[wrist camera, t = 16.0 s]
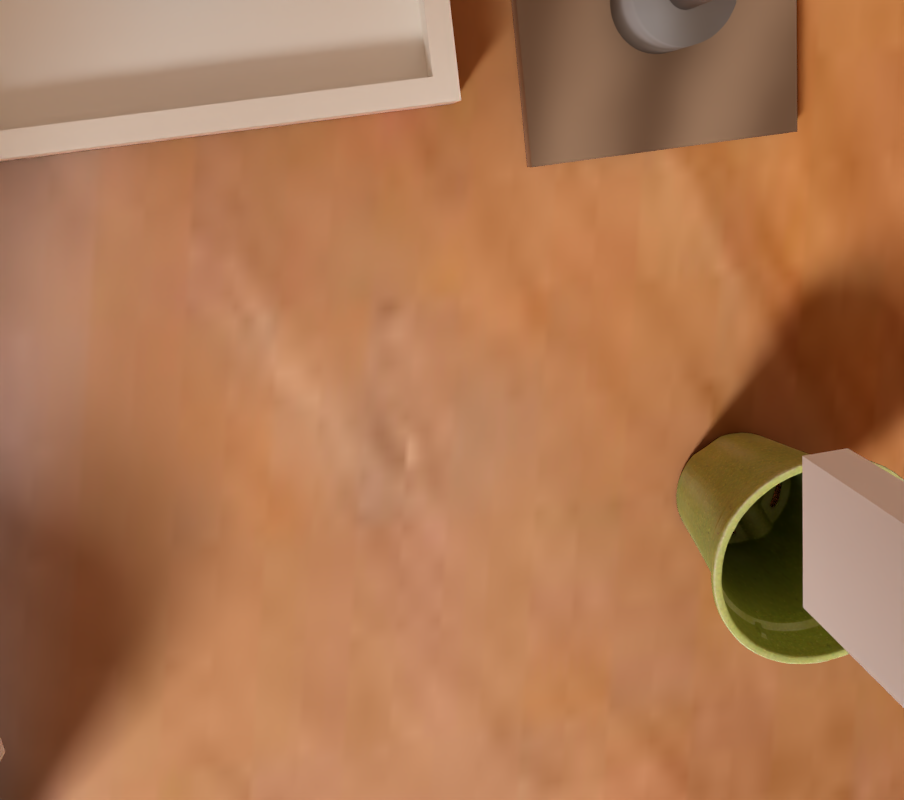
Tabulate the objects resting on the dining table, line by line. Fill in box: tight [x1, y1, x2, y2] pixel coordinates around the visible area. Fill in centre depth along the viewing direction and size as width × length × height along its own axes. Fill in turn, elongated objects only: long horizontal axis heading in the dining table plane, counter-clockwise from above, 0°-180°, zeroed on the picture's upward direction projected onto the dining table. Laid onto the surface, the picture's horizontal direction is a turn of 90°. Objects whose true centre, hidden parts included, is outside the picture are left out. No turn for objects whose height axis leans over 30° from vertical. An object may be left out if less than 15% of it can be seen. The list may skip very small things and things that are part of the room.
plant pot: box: [677, 433, 904, 664], centre depth 40 cm, size 9×9×9 cm
